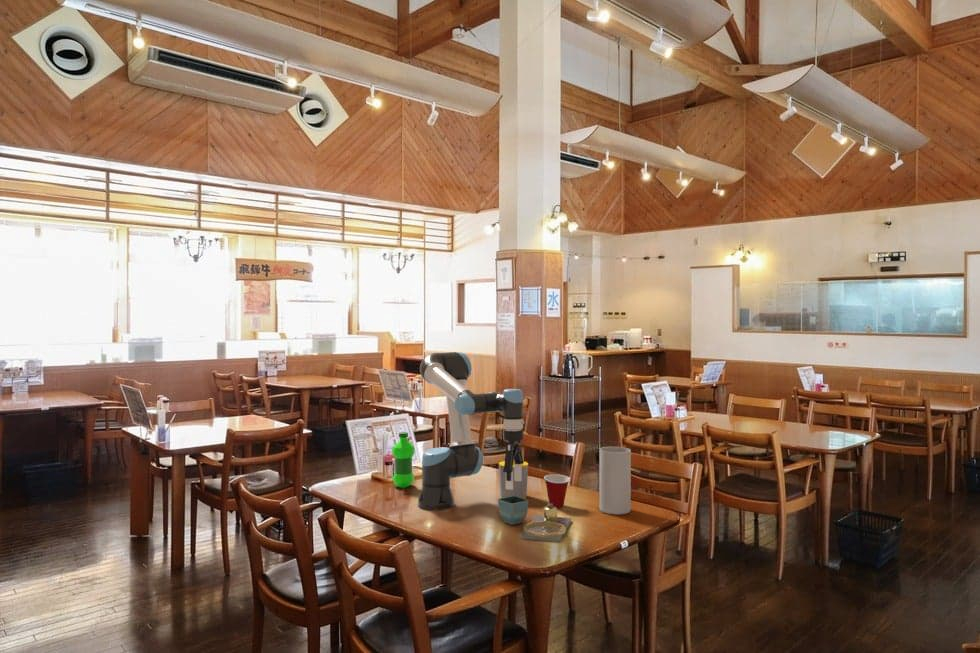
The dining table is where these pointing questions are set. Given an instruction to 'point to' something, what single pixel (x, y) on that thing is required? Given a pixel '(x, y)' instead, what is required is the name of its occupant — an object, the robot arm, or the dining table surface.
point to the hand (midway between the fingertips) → (513, 485)
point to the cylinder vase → (615, 480)
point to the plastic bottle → (403, 461)
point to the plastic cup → (556, 489)
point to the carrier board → (546, 526)
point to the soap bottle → (518, 486)
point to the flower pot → (513, 509)
